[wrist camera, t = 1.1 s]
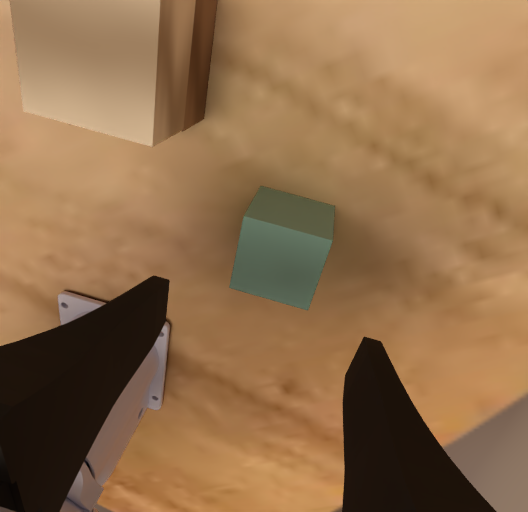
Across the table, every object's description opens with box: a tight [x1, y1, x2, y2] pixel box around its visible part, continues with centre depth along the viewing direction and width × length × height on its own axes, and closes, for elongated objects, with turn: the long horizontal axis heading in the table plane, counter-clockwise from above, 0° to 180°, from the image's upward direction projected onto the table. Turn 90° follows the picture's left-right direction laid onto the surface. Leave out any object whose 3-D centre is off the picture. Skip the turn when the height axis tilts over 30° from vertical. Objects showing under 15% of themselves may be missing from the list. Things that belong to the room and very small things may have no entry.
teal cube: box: [229, 186, 335, 310], centre depth 19 cm, size 4×4×4 cm
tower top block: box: [10, 0, 196, 147], centre depth 14 cm, size 5×5×3 cm
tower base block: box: [182, 0, 217, 131], centre depth 16 cm, size 5×5×3 cm
